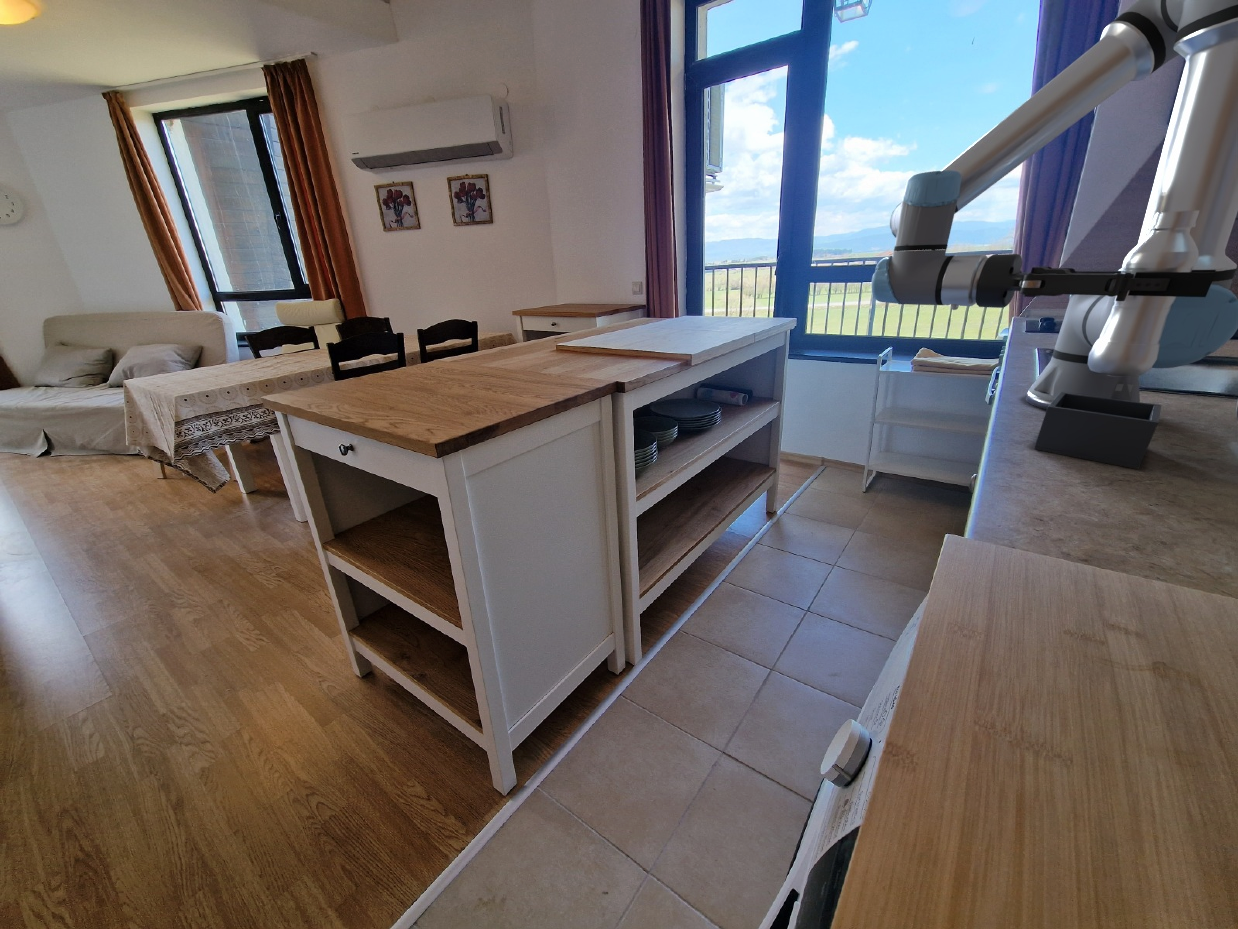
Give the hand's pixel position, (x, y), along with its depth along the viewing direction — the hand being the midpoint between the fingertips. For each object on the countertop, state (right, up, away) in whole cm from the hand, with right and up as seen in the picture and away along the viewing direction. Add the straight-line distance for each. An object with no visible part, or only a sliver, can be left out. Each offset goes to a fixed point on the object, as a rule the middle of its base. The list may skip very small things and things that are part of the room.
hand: (1210, 282), depth 58 cm
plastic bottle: (-3, -10, +8) cm, 13 cm away
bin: (-2, -20, +13) cm, 23 cm away
